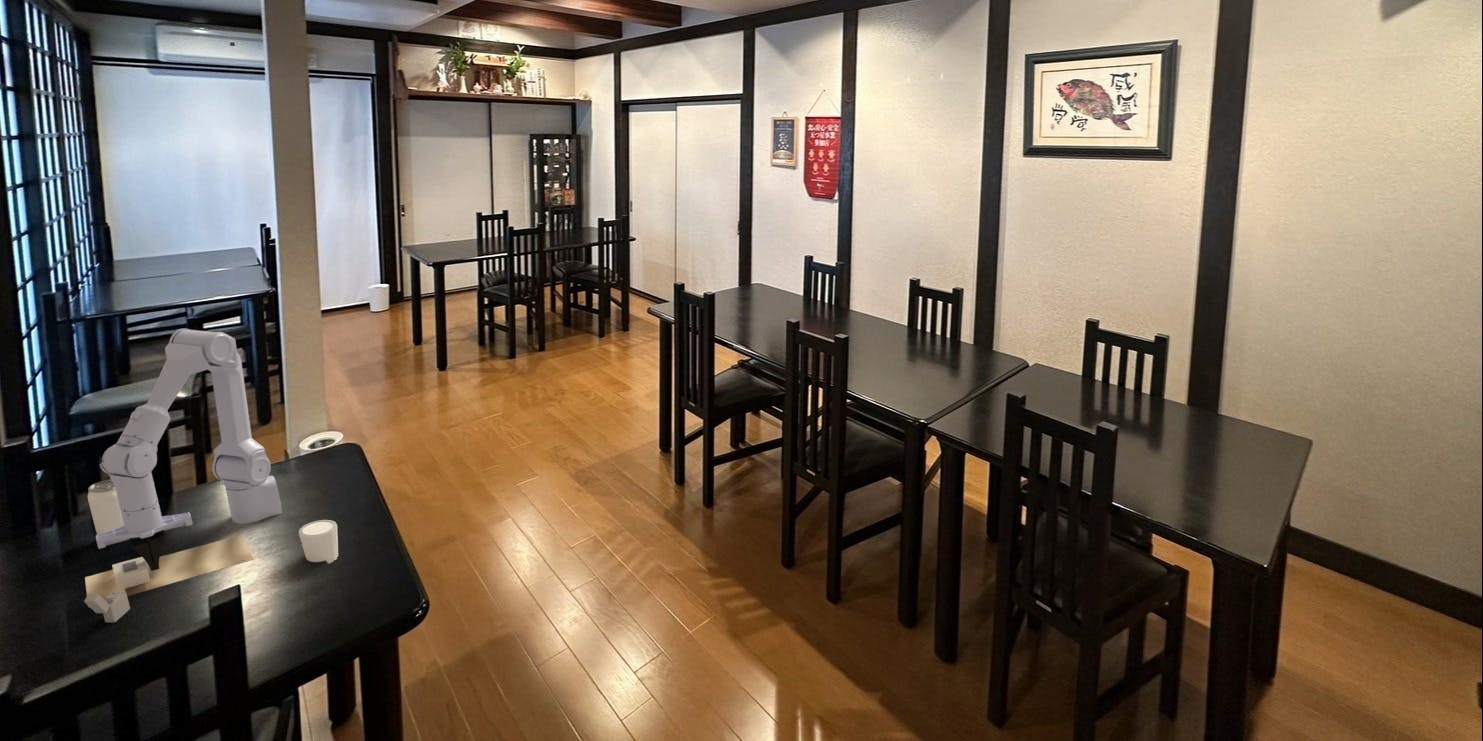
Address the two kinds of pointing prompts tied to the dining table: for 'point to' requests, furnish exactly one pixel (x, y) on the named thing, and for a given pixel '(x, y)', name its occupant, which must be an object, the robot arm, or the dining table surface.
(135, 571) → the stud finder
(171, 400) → the robot arm
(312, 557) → the white cup
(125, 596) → the lighter
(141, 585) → the board
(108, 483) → the can
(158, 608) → the dining table surface
